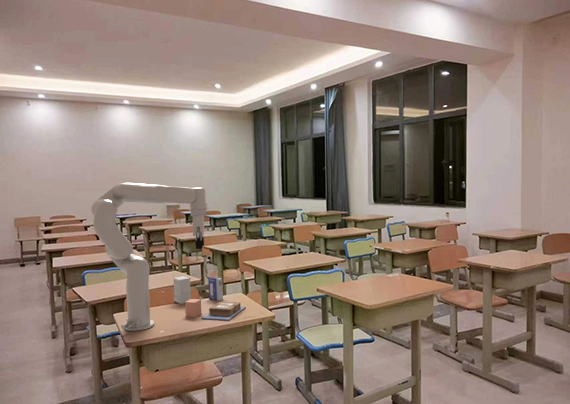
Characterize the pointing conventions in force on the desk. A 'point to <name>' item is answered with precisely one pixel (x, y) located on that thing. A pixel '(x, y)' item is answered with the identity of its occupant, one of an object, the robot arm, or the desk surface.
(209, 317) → the board
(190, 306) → the terracotta block
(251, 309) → the desk surface
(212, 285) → the walkman
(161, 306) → the desk surface
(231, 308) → the walnut base block
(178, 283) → the small box
